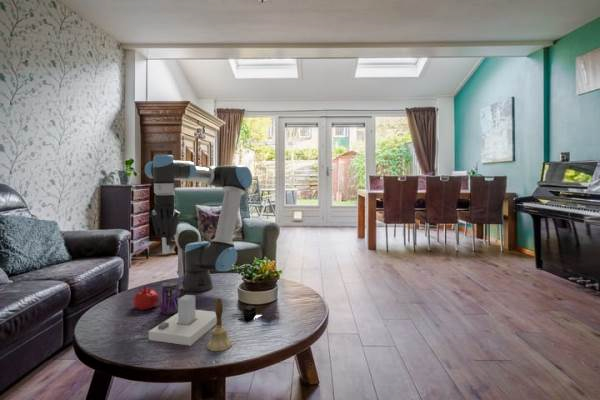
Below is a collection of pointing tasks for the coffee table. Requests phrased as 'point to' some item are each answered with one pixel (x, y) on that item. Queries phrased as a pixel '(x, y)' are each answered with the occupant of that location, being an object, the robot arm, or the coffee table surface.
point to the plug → (186, 310)
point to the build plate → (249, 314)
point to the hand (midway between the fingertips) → (166, 253)
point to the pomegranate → (145, 299)
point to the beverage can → (169, 297)
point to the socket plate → (183, 329)
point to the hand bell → (219, 332)
